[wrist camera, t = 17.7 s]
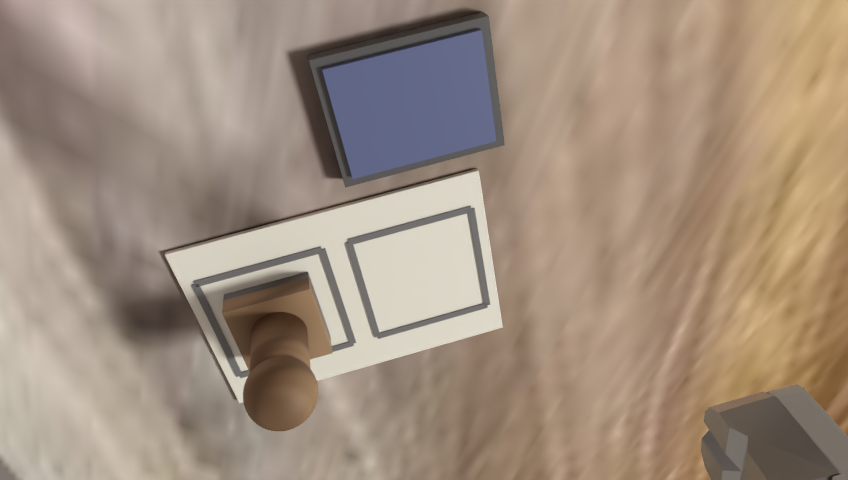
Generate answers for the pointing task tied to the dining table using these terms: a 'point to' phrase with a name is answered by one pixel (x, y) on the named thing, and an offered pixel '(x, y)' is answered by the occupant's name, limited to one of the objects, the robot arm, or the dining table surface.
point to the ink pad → (410, 98)
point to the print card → (360, 274)
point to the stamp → (278, 348)
